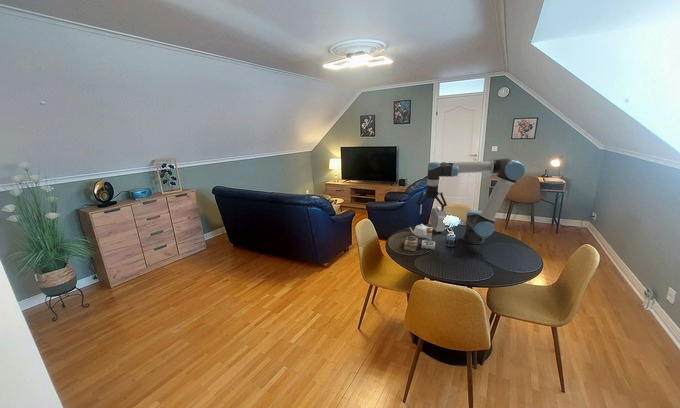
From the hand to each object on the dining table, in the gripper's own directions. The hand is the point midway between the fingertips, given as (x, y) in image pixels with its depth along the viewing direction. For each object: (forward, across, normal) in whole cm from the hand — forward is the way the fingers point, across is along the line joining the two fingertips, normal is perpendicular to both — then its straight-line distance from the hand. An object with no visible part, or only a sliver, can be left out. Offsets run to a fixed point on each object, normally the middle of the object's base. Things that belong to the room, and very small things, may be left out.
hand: (430, 214), depth 194 cm
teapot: (+25, -7, +18) cm, 32 cm away
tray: (+25, 0, 0) cm, 25 cm away
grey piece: (+25, +5, +36) cm, 44 cm away
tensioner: (+25, -12, -3) cm, 28 cm away
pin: (+24, 0, 0) cm, 24 cm away
